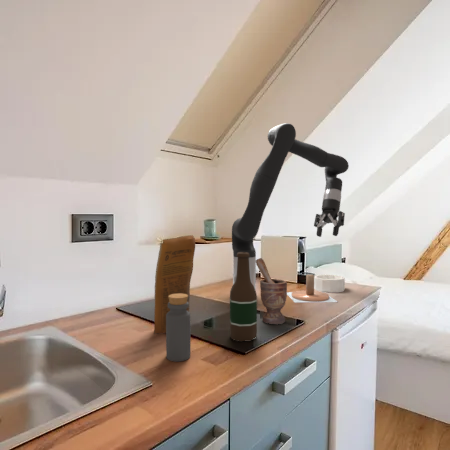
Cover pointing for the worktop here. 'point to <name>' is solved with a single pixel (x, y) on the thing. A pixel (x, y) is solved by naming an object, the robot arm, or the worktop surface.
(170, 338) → the bottle
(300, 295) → the lid
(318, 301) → the mat
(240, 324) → the beer bottle
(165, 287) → the pancake mix bag
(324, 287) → the bowl
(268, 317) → the mortar and pestle
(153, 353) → the worktop surface
